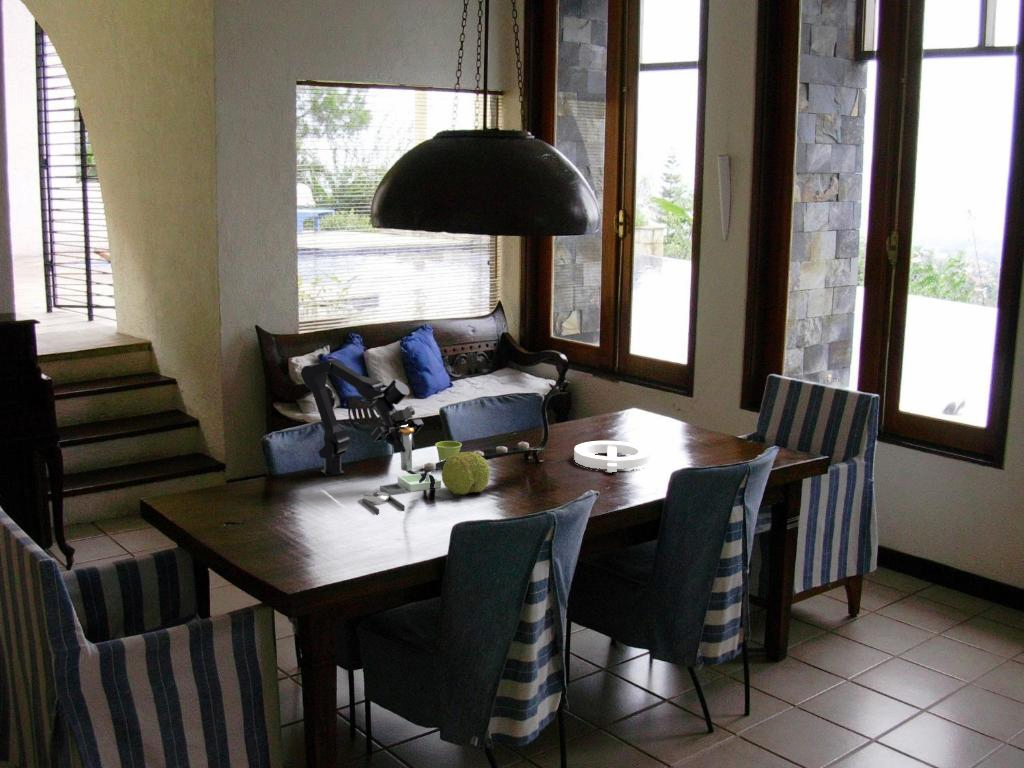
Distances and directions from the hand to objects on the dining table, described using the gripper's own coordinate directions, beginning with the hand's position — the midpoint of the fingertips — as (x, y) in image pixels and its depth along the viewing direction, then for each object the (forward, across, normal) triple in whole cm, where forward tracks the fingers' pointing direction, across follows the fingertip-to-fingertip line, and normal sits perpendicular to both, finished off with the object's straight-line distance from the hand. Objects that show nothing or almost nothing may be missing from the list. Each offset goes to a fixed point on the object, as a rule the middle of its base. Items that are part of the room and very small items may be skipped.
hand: (409, 450), depth 373 cm
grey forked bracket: (+15, -17, +5) cm, 23 cm away
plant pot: (+1, +29, +19) cm, 35 cm away
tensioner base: (+8, -5, +11) cm, 15 cm away
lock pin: (+4, 0, +6) cm, 7 cm away
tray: (+9, +5, +11) cm, 15 cm away
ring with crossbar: (+24, +81, -4) cm, 85 cm away
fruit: (+20, +13, 0) cm, 24 cm away
